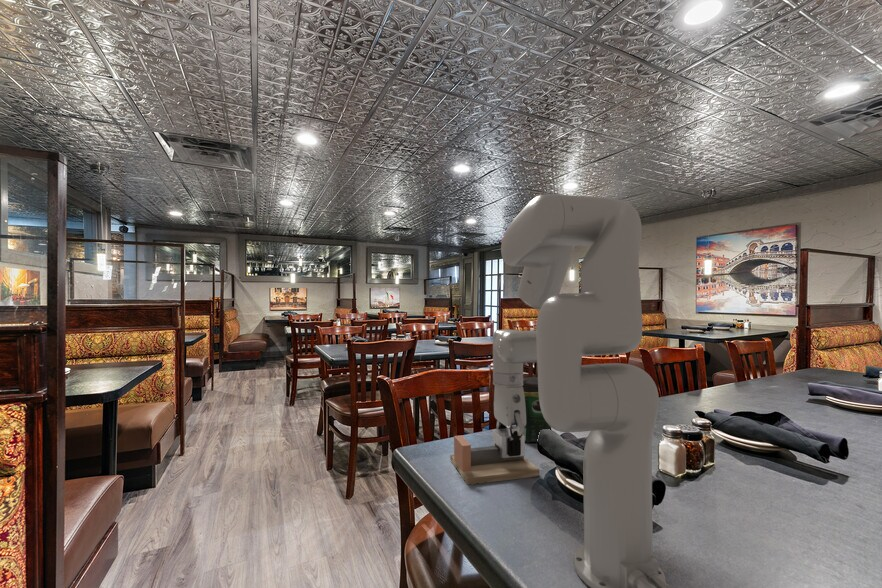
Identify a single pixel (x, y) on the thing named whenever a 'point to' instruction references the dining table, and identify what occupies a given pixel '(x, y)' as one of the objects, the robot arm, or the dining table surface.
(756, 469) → the dining table surface
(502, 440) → the saddle block
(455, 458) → the stop
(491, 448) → the rail
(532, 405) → the coffee jar
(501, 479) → the board
